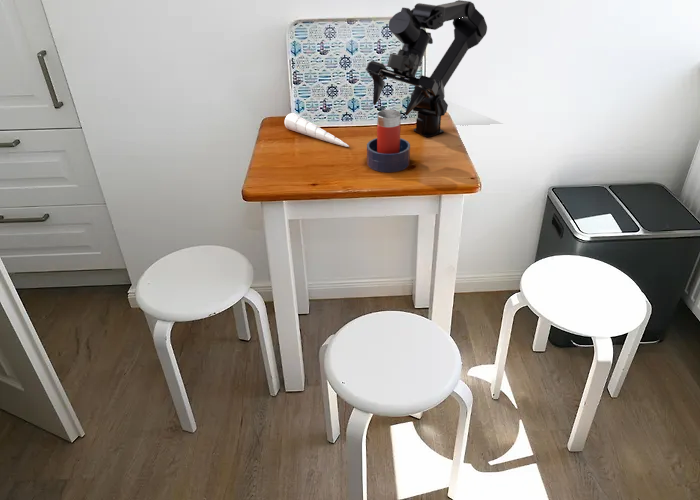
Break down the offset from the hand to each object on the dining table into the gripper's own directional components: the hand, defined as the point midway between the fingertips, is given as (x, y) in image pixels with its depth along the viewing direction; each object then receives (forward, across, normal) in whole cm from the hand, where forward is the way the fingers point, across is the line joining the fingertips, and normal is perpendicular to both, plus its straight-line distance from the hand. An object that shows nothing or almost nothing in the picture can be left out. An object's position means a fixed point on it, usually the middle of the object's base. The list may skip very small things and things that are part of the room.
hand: (389, 109), depth 149 cm
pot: (+12, +4, +4) cm, 14 cm away
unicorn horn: (+12, -22, +12) cm, 28 cm away
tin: (+12, +4, +4) cm, 13 cm away
